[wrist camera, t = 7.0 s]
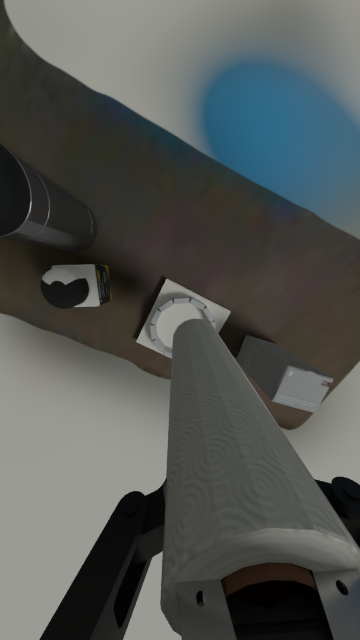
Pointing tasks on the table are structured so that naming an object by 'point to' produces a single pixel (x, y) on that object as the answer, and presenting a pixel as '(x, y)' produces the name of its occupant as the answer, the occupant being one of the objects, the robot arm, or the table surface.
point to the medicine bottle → (76, 285)
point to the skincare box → (283, 374)
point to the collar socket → (177, 316)
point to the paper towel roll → (238, 488)
